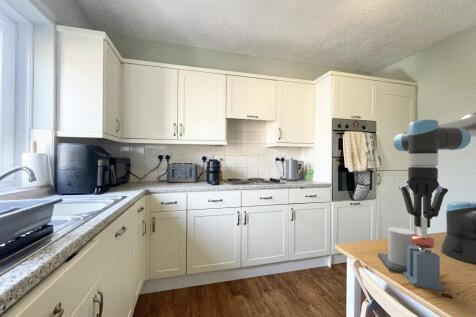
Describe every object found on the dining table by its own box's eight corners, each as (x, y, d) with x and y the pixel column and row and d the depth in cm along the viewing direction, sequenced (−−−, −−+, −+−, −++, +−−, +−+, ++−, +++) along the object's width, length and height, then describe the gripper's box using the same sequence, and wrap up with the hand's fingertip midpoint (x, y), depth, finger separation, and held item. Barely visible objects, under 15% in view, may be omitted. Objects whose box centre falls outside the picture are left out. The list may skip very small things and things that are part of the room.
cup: (419, 267, 77) (419, 235, 77) (394, 265, 79) (394, 233, 79) (406, 257, 85) (406, 227, 85) (384, 255, 87) (384, 226, 87)
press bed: (411, 260, 86) (411, 256, 86) (428, 276, 75) (428, 271, 75) (377, 256, 90) (377, 252, 90) (388, 270, 78) (388, 266, 78)
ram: (427, 265, 73) (427, 235, 73) (437, 274, 67) (437, 241, 68) (408, 263, 75) (408, 233, 75) (416, 271, 69) (416, 239, 69)
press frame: (430, 278, 73) (430, 248, 73) (443, 290, 66) (443, 256, 66) (403, 274, 76) (403, 245, 76) (413, 285, 69) (413, 253, 69)
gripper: (439, 166, 73) (439, 235, 73) (395, 165, 77) (394, 231, 77) (454, 167, 66) (454, 243, 65) (404, 166, 69) (404, 238, 69)
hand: (422, 236), depth 71 cm, fingers closed
